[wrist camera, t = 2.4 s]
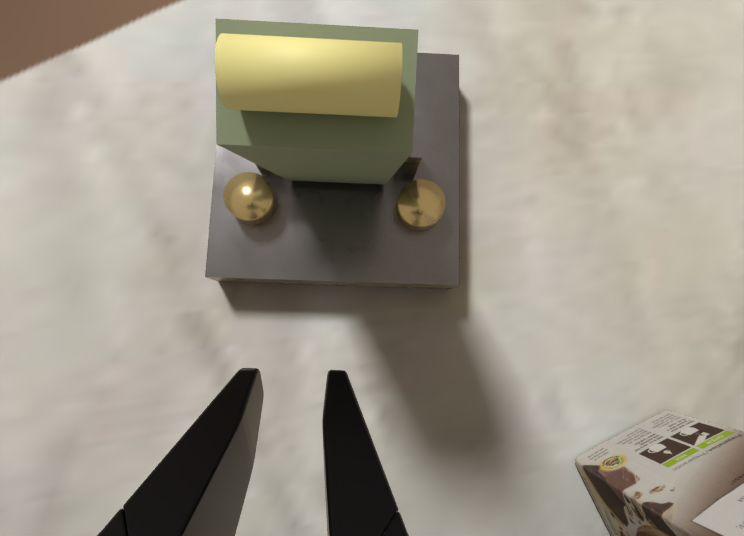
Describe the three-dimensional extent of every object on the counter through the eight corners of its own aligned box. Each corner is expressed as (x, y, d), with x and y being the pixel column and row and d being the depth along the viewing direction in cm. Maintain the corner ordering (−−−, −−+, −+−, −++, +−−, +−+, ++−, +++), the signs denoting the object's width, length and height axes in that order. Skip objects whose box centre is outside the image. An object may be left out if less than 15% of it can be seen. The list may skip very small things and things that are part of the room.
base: (450, 288, 24) (476, 278, 19) (218, 281, 23) (179, 268, 18) (450, 75, 26) (475, 13, 20) (235, 64, 25) (204, -3, 20)
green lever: (388, 185, 22) (430, 142, 9) (286, 181, 22) (182, 131, 9) (390, 127, 22) (438, -3, 9) (286, 122, 22) (180, -18, 9)
